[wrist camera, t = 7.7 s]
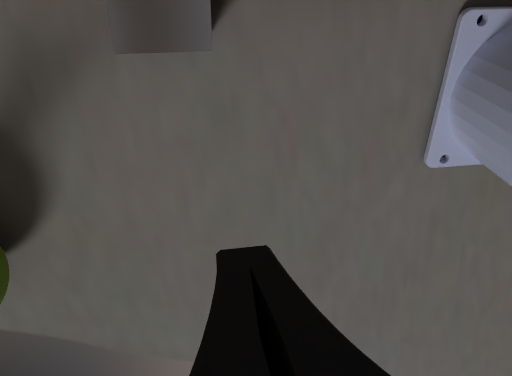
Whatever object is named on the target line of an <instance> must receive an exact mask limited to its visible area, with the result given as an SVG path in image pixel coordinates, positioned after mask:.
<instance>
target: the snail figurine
mask: <svg viewBox="0 0 512 376" xmlns="http://www.w3.org/2000/svg"><path fill="white" fill-rule="evenodd" d="M8 282H9V266H8V261H7V258H6V255H5V253H4V251H3V249H2V247H1V246H0V304H1V302H2V300H3V298H4V296H5V294H6V291H7V287H8Z"/></svg>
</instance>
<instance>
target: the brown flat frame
mask: <svg viewBox="0 0 512 376" xmlns="http://www.w3.org/2000/svg"><path fill="white" fill-rule="evenodd" d="M106 3H107V9H108V16H109V22H110V29H111V35H112V41H113V48H114V54H127V53H161V52H195V51H212V28H211V3H210V0H106Z"/></svg>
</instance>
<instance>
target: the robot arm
mask: <svg viewBox="0 0 512 376" xmlns="http://www.w3.org/2000/svg"><path fill="white" fill-rule="evenodd" d="M480 15H483V18H482V20H481V22H480V23H479V24H477V19H478V17H479V16H480ZM443 155H445V157H444V158H443V159H442V160H440V158H441V157H442V156H443ZM424 162H425V164H426V165H427V166H429V167H431V168H437V167H450V166H463V165H476V164H484V165H485V166H486V167H487V168H489V169H490V170H491V171H493V172H494V173H495V174H496V175H498V176H499V177H500V178H502V179H503V180H504V181H505V182H507V183H508V184H509V185H511V186H512V6H511V7H469V8H466V9H465V10H463V11H462V12H461V13H460V15H459V17H458V19H457V24H456V28H455V32H454V36H453V40H452V44H451V48H450V52H449V56H448V60H447V64H446V69H445V73H444V77H443V81H442V85H441V89H440V93H439V97H438V101H437V105H436V110H435V114H434V118H433V122H432V126H431V130H430V134H429V138H428V142H427V146H426V151H425V155H424ZM216 263H217V275H216V283H215V290H214V295H213V299H212V304H211V309H210V313H209V317H208V321H207V324H206V328H205V331H204V334H203V338H202V341H201V344H200V347H199V350H198V353H197V356H196V359H195V362H194V364H193V367H192V370H191V373H190V375H189V376H391V375H389V374H388V373H387V372H385V371H384V370H383V369H382V368H380V367H379V366H378V365H377V364H376V363H374V362H373V361H372V360H371V359H370V358H368V357H367V356H366V355H365V354H364V353H362V352H361V351H360V350H359V349H358V348H357V347H356V346H355V345H353V344H352V343H351V342H350V341H349V340H348V339H347V338H346V337H345V336H344V335H343V334H342V333H341V332H340V331H339V330H338V329H337V328H336V327H334V325H333V324H332V323H331V322H330V321H329V320H328V319H327V318H326V317H325V316H324V315H323V314H322V313H321V312H320V311H319V310H318V309H317V308H316V307H315V305H314V304H313V303H312V302H311V301H310V300H309V299H308V297H307V296H306V295H305V294H304V293H303V292H302V290H301V289H300V288H299V287H298V286H297V285H296V283H295V282H294V281H293V280H292V278H291V277H290V276H289V274H288V273H287V272H286V271H285V269H284V268H283V267H282V265H281V264H280V262H279V261H278V260H277V258H276V257H275V255H274V254H273V252H272V251H271V249H270V248H269V247H268V246H266V245H264V246H255V247H245V248H236V249H226V250H220V251H219V252H218V253H217V254H216Z"/></svg>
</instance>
